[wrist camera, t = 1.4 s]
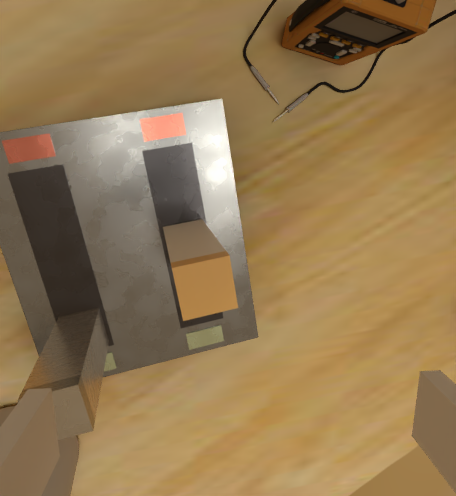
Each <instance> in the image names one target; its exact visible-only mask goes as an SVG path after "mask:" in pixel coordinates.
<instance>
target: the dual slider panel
mask: <svg viewBox="0 0 456 496" xmlns="http://www.w3.org/2000/svg"><path fill="white" fill-rule="evenodd" d="M200 219H202V220H203V221H204V222H205V224H206V225H207V226H208V228H209V229H210V230H211V232H212V233H213V234H214V236H215V237H216V238H217V240H218V241H219V242H220V244H221V245H222V246H223V247H224V249H225V250H226V251H227V253H228V254H229V255H230V261H231V267H232V273H233V279H234V285H235V291H236V297H237V303H238V308H236V309H231V310H227V311H223V312H219V313H215V314H211V315H207V316H203V317H198V318H194V319H190V320H186V321H183V318H182V313H181V309H180V304H179V299H178V295H177V290H176V286H175V281H174V277H173V272H172V267H171V263H170V258H169V254H168V249H167V244H166V240H165V235H164V230H163V227H165V226H170V225H175V224H180V223H185V222H190V221H195V220H200ZM0 246H1V249H2V252H3V255H4V258H5V260H6V263H7V266H8V269H9V272H10V275H11V277H12V280H13V283H14V286H15V289H16V292H17V294H18V297H19V300H20V303H21V306H22V309H23V311H24V314H25V317H26V320H27V323H28V326H29V328H30V331H31V334H32V337H33V340H34V343H35V345H36V348H37V351H38V354H39V358H38V360H37V362H36V364H35V366H34V368H33V370H32V372H31V374H30V376H29V378H28V380H27V382H26V385H25V387H24V389H23V391H22V393H21V395H20V397H19V399H18V402H19V401H20V400H21V398H22V397H23V395H24V394H25V393H26V391H27V390H28V389H43V388H51V390H52V398H53V405H54V413H55V421H56V429H57V437H58V440H61V439H65V438H69V437H72V436H76V435H79V434H83V433H87V432H90V431H93V428H94V423H95V417H96V411H97V406H98V400H99V395H100V389H101V384H102V378H103V377H106V376H110V375H114V374H117V373H121V372H125V371H129V370H133V369H137V368H141V367H145V366H149V365H152V364H156V363H160V362H164V361H168V360H172V359H176V358H180V357H184V356H187V355H191V354H195V353H199V352H203V351H207V350H211V349H215V348H219V347H222V346H226V345H230V344H234V343H238V342H242V341H246V340H250V339H254V338H257V337H258V332H257V325H256V319H255V312H254V305H253V299H252V292H251V286H250V279H249V272H248V266H247V259H246V253H245V246H244V239H243V233H242V226H241V220H240V213H239V206H238V200H237V193H236V187H235V180H234V173H233V167H232V160H231V154H230V147H229V140H228V134H227V127H226V121H225V114H224V107H223V101H222V99H217V100H210V101H203V102H197V103H190V104H184V105H177V106H171V107H164V108H157V109H151V110H144V111H138V112H131V113H124V114H118V115H111V116H105V117H98V118H91V119H85V120H78V121H72V122H65V123H59V124H52V125H45V126H39V127H32V128H26V129H19V130H12V131H6V132H0Z"/></svg>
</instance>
